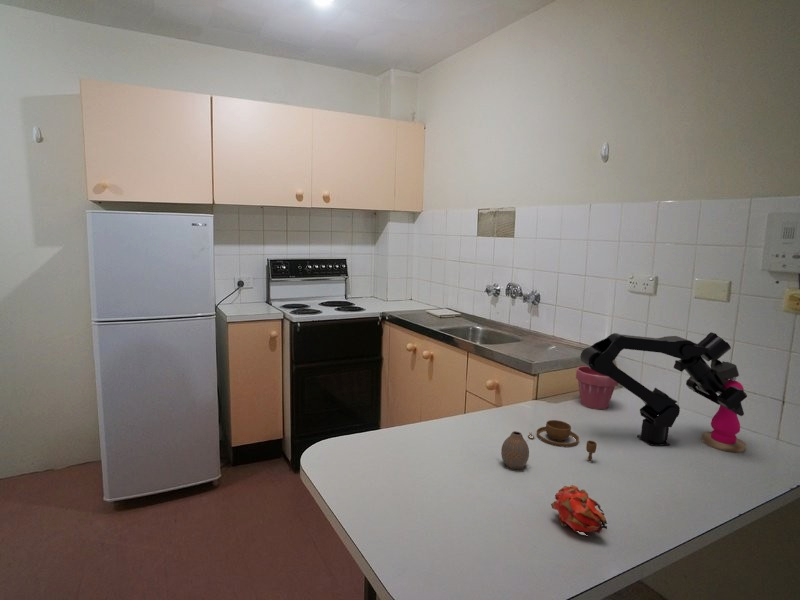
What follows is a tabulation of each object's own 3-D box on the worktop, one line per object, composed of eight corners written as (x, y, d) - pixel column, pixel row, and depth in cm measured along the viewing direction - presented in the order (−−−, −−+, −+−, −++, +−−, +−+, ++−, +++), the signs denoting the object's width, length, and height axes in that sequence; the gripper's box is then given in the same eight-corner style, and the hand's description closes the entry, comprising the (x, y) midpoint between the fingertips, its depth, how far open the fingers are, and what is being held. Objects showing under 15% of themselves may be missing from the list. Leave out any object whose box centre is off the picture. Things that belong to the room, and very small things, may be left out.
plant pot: (568, 396, 177) (572, 363, 176) (607, 399, 176) (611, 366, 174) (579, 410, 163) (583, 374, 162) (621, 414, 162) (625, 378, 160)
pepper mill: (741, 447, 136) (752, 380, 133) (712, 442, 138) (722, 376, 136) (733, 437, 143) (743, 373, 140) (705, 432, 145) (715, 370, 142)
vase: (529, 463, 123) (532, 431, 121) (525, 474, 116) (528, 441, 115) (503, 456, 125) (506, 425, 124) (497, 467, 119) (500, 434, 118)
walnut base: (721, 453, 135) (722, 448, 135) (692, 436, 146) (693, 432, 145) (754, 452, 137) (755, 447, 136) (723, 436, 147) (724, 431, 147)
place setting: (585, 436, 143) (587, 417, 142) (598, 467, 124) (600, 445, 123) (526, 428, 147) (528, 410, 146) (529, 457, 127) (531, 436, 127)
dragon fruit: (552, 515, 102) (599, 555, 93) (535, 504, 97) (583, 545, 88) (574, 483, 103) (623, 519, 93) (558, 470, 98) (608, 507, 88)
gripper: (745, 362, 128) (778, 402, 130) (700, 346, 146) (730, 381, 148) (713, 388, 129) (746, 428, 131) (672, 369, 147) (702, 404, 149)
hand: (730, 409), depth 140 cm, fingers open, 9 cm apart
